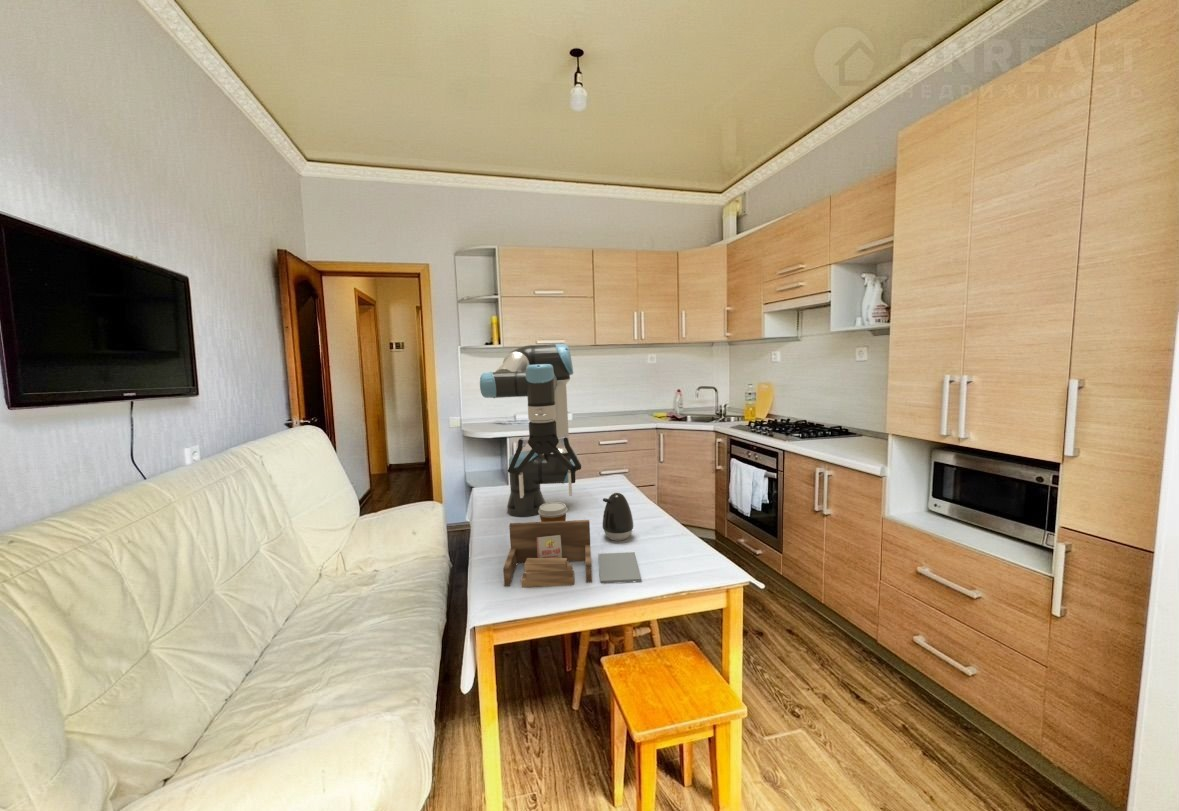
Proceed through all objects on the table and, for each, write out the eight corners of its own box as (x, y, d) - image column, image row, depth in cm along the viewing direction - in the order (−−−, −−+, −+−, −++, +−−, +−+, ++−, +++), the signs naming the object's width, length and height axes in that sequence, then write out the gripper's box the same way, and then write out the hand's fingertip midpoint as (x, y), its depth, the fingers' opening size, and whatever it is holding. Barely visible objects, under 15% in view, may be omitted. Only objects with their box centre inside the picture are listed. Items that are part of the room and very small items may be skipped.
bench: (512, 561, 133) (510, 523, 132) (590, 558, 134) (589, 519, 132) (504, 586, 120) (501, 543, 118) (591, 582, 120) (590, 539, 118)
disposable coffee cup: (564, 548, 141) (563, 512, 139) (536, 547, 143) (534, 511, 141) (572, 536, 150) (570, 501, 149) (544, 535, 152) (543, 501, 151)
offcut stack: (523, 578, 123) (522, 558, 122) (574, 576, 123) (573, 555, 122) (521, 588, 118) (520, 566, 117) (574, 585, 118) (573, 564, 117)
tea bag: (538, 568, 129) (536, 535, 128) (561, 565, 130) (559, 532, 129) (538, 574, 125) (536, 540, 124) (562, 571, 126) (561, 537, 125)
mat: (598, 556, 135) (598, 553, 135) (634, 554, 135) (634, 552, 135) (600, 583, 119) (600, 580, 119) (641, 581, 119) (641, 578, 119)
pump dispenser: (596, 535, 150) (595, 492, 148) (622, 528, 155) (621, 486, 153) (613, 546, 141) (611, 500, 139) (639, 539, 146) (638, 494, 144)
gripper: (494, 424, 118) (499, 501, 121) (587, 420, 119) (591, 497, 121) (499, 420, 126) (504, 493, 128) (587, 416, 126) (590, 489, 129)
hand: (546, 495), depth 125 cm, fingers open, 13 cm apart
